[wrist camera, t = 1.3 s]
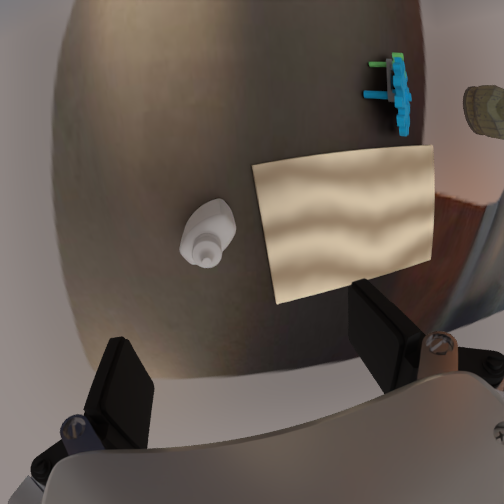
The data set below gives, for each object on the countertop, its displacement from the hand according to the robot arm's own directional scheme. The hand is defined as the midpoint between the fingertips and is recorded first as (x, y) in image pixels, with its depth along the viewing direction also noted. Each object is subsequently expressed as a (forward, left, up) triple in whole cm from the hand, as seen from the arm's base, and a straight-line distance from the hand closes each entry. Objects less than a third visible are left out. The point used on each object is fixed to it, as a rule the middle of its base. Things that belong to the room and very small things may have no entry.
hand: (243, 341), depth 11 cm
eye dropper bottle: (+1, -2, -23) cm, 23 cm away
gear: (-11, +23, -23) cm, 34 cm away
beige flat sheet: (+5, +17, -23) cm, 29 cm away
